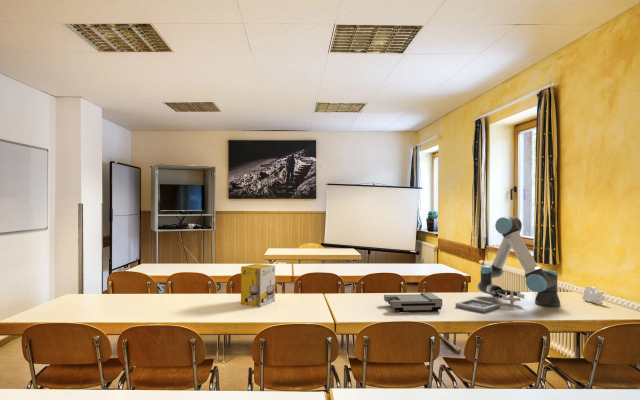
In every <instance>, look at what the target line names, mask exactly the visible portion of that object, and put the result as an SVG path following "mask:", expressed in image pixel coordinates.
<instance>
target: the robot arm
mask: <svg viewBox="0 0 640 400" xmlns="http://www.w3.org/2000/svg"><path fill="white" fill-rule="evenodd" d="M522 224H523V223H522V221H521V220H520V219H519V217H517V216H501V217H499V218H498V219H497V220H496V222H495V227H494V228H495V230H496V232H498V234H501V236H502V237H503V239H502V240H501V243H500V245H499V247H498V250H497V253H496V255H495V257H494V260H493V262H492V263H491V266H490V265H481V266H480V282H478V284H477V289H478V291H480V292H481V293H482V294H483V293H484V294H487V295H490V296H491V297H493V298H496V299H502V300H504V301H507V300H506V297H507V296H510V291H511V290H509V289H504V288H503V289H502V286H499V285H496V284H493V283H492V282H493V281H492V280H493V279H495V278H499V277H502V275H503V273H504V271H503V268H504V266H505V264H506V261H507V259H508V257H509V255H510V253H511V250H513V252H514V254H515V257H516V258H517V259H518V261H519V264H520V265H521V267H522V269H523V270H524V278H525V285H526V287H527V288H528V289H529V290H530V291H532V292H534V293H537V294H536V296H535V299H534V303H535V305H539V306H543V307H550V308H552V307H553V308H554V307H555V308H556V307H560V306H561V300H560V298H559V295H558V278H559V276H558V272H557V271H555V270H548V269H543V268H542V267H540V266H538V264H537V262H536V261H535V259H534V257H533V256H532V254H531V251H530V250H529V248H528V246H527V244H525V241H524V239H523V238H522V236H521V230H522V229H523V228H522V227H523V225H522ZM512 291H513V297H516V298H520V299H525V294H524V293H521V292H520V291H515V290H512Z"/></svg>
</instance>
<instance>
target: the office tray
mask: <svg viewBox="0 0 640 400" xmlns="http://www.w3.org/2000/svg"><path fill="white" fill-rule="evenodd" d="M383 301H384V302H386V303H387V304H388V305H389V306H390V307H391V308H392V309H394V310H395V311H397V310H398V311H399V312H409V313H439V310H442V307H443V299H442V298H440V297H439V296H437V295H436V294H434V293H433V292H430V291H429V292H420V294H383ZM398 311H397V312H398ZM399 312H398V313H399Z"/></svg>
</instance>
